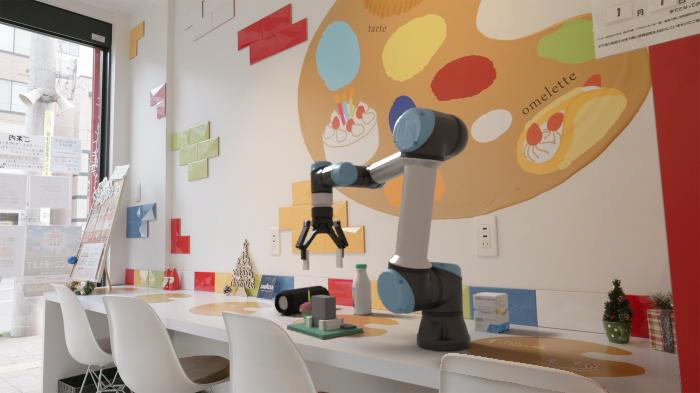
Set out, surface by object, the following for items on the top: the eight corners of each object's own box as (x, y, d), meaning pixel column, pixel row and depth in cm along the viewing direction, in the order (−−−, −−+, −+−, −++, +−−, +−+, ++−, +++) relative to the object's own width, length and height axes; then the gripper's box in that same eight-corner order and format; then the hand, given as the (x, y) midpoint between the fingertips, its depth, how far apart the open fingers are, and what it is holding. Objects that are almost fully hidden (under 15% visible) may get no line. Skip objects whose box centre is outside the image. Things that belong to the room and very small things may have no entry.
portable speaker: (289, 317, 179) (289, 291, 180) (272, 314, 185) (272, 290, 186) (331, 308, 199) (331, 285, 200) (315, 306, 205) (314, 284, 206)
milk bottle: (375, 312, 184) (373, 263, 186) (365, 315, 177) (364, 264, 179) (359, 311, 188) (357, 263, 190) (349, 314, 181) (348, 264, 183)
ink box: (510, 329, 147) (508, 293, 148) (498, 333, 140) (497, 295, 141) (485, 326, 152) (484, 291, 153) (473, 330, 146) (472, 294, 147)
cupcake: (318, 323, 164) (318, 289, 165) (296, 322, 166) (295, 289, 167) (324, 319, 172) (324, 287, 173) (303, 318, 174) (302, 287, 175)
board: (363, 331, 147) (362, 318, 148) (322, 339, 138) (322, 325, 138) (325, 322, 165) (325, 311, 165) (287, 328, 155) (286, 316, 155)
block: (336, 327, 149) (335, 296, 150) (325, 329, 147) (324, 298, 148) (321, 323, 157) (320, 294, 157) (310, 325, 154) (310, 295, 155)
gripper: (344, 208, 165) (346, 266, 163) (284, 206, 150) (285, 270, 148) (357, 206, 159) (358, 267, 157) (296, 204, 144) (297, 271, 142)
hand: (323, 268), depth 153 cm, fingers open, 13 cm apart
